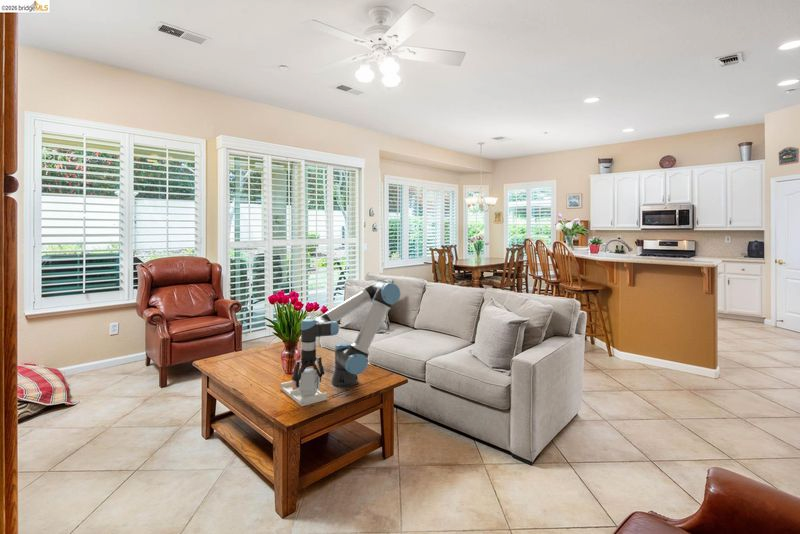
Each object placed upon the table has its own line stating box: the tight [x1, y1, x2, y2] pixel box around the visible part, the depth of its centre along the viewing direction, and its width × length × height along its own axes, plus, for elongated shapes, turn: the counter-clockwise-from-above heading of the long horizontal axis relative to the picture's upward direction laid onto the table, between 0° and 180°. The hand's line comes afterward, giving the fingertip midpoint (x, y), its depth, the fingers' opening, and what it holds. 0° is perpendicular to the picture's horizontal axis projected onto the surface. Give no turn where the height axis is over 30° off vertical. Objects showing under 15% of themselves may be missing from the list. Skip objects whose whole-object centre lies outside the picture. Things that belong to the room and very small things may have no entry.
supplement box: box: [301, 367, 318, 397], centre depth 207 cm, size 7×7×13 cm
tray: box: [280, 374, 328, 407], centre depth 213 cm, size 14×27×9 cm, turn 39°
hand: (308, 390), depth 208 cm, fingers closed on supplement box, 10 cm apart
